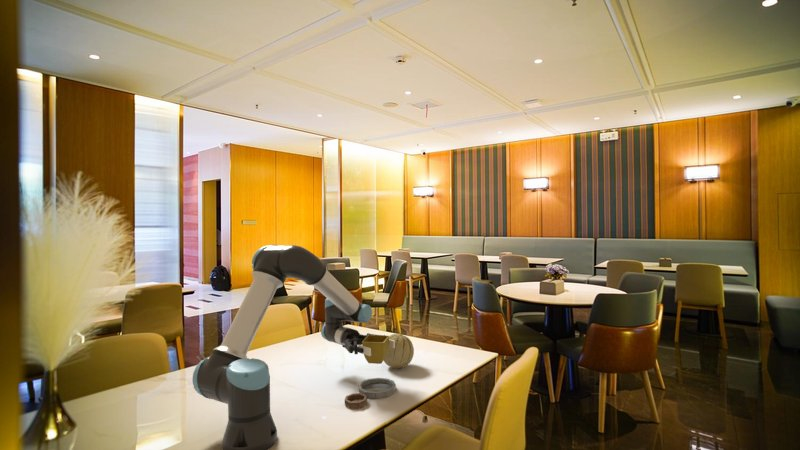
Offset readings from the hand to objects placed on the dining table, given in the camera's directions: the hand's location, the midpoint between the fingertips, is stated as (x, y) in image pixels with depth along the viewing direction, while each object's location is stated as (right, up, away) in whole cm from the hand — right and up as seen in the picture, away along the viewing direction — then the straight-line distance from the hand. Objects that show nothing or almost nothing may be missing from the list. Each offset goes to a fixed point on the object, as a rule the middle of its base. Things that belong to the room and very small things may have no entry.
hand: (382, 348), depth 149 cm
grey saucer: (-2, -17, +3) cm, 17 cm away
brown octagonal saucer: (-9, -17, -8) cm, 21 cm away
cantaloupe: (+6, -17, +27) cm, 32 cm away
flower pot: (-2, -6, +3) cm, 7 cm away
